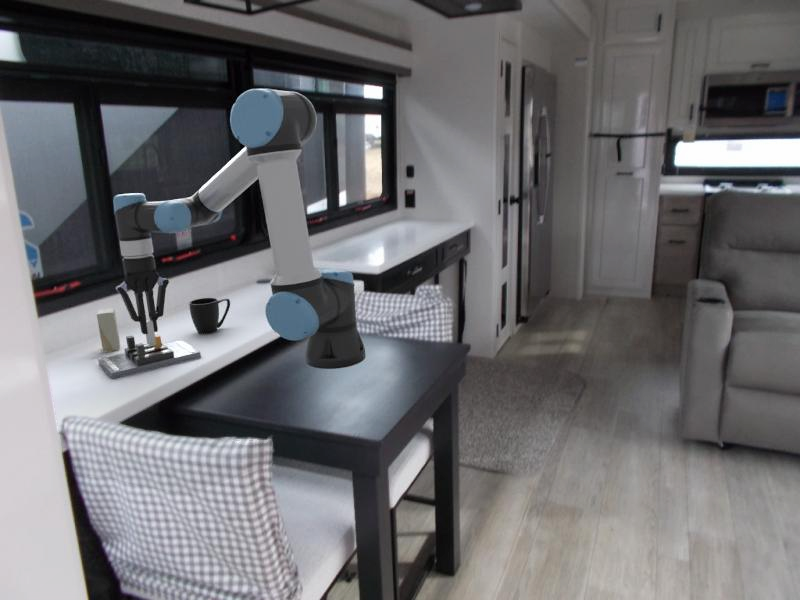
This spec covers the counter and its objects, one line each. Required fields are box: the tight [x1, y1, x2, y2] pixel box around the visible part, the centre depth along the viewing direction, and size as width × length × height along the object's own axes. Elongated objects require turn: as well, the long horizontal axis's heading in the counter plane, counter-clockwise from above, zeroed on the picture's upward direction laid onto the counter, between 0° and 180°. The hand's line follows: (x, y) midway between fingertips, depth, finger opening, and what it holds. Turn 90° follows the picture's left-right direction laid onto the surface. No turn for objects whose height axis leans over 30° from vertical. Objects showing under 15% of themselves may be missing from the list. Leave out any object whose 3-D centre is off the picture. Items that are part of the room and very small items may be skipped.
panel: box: [97, 335, 202, 380], centre depth 162 cm, size 14×22×6 cm, turn 128°
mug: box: [188, 297, 231, 335], centre depth 186 cm, size 8×12×10 cm
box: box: [96, 308, 121, 353], centre depth 173 cm, size 5×4×11 cm
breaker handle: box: [154, 334, 163, 348], centre depth 163 cm, size 2×2×3 cm
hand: (151, 344), depth 162 cm, fingers closed
